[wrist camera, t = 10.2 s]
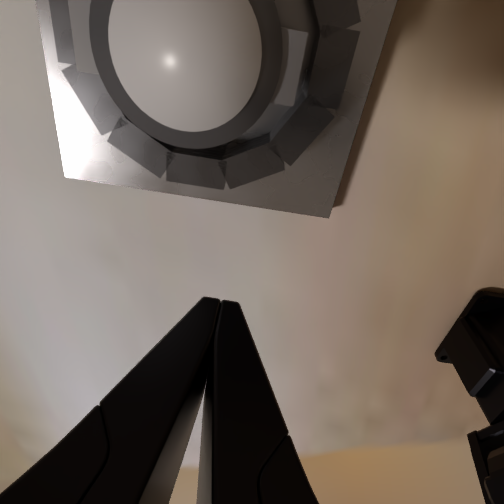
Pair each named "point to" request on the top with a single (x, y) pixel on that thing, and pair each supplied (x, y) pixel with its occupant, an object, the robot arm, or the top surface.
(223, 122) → the domed button housing
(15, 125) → the top surface
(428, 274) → the top surface
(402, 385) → the top surface
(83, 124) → the barrel plate
